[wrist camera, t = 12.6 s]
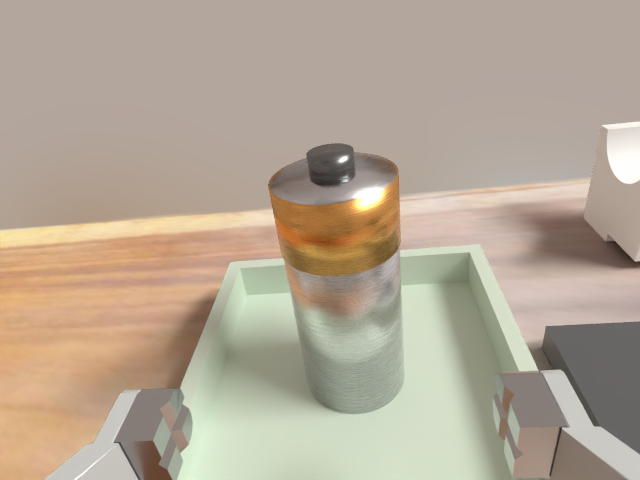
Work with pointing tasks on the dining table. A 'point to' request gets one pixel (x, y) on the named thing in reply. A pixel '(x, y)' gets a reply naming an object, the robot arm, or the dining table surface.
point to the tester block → (602, 373)
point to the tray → (354, 429)
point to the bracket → (617, 187)
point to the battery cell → (344, 273)
